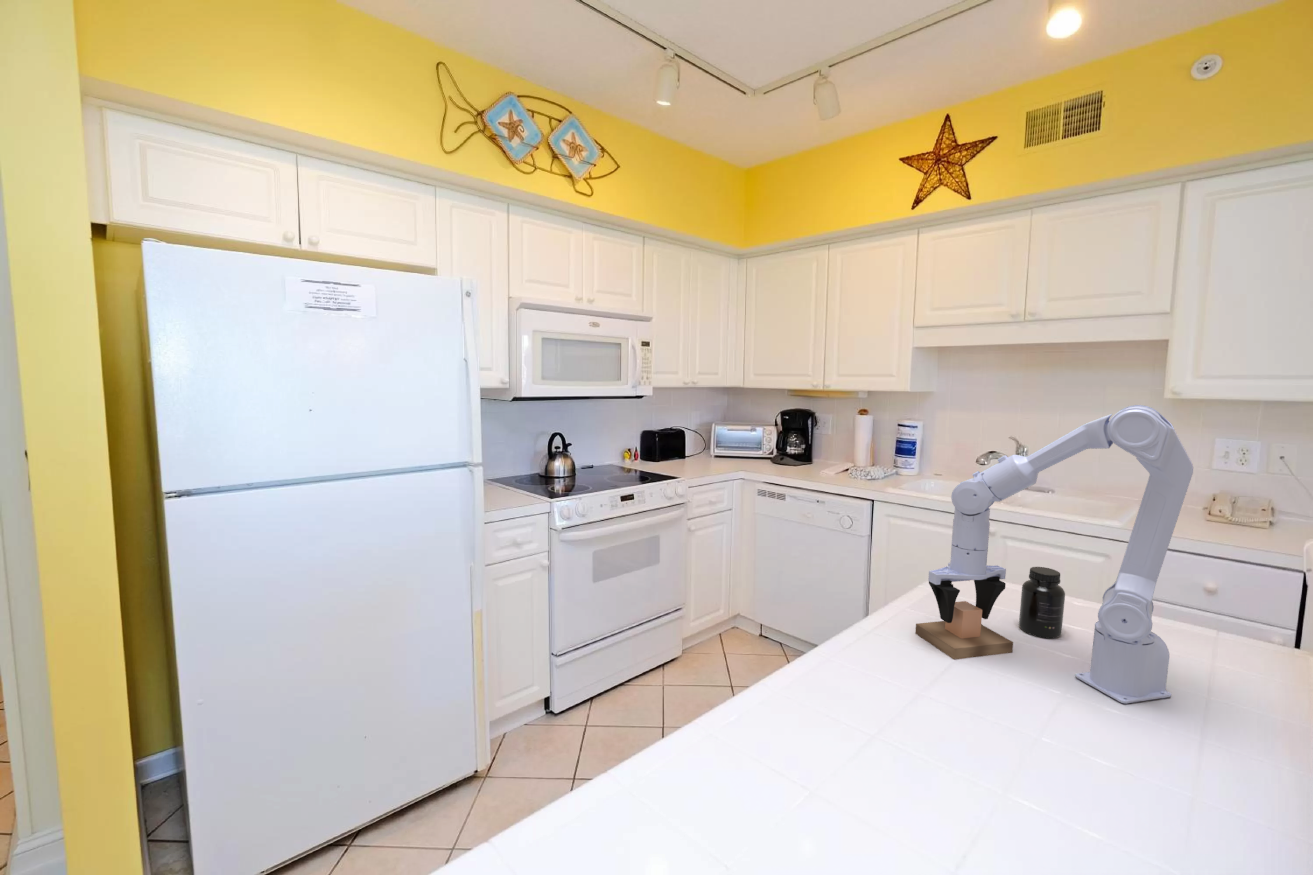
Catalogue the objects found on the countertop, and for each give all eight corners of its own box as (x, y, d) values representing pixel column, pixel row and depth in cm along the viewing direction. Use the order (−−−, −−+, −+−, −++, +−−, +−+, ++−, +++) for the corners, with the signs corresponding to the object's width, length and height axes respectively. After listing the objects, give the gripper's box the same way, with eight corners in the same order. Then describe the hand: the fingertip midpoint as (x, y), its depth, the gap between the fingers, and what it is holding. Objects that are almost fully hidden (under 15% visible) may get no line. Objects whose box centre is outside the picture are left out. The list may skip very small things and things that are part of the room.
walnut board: (969, 630, 111) (970, 618, 111) (1012, 655, 101) (1013, 641, 101) (915, 636, 108) (916, 623, 108) (953, 662, 99) (954, 648, 98)
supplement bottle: (1011, 622, 113) (1016, 563, 112) (1049, 624, 113) (1054, 565, 111) (1029, 638, 107) (1034, 575, 105) (1069, 640, 106) (1075, 577, 104)
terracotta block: (963, 626, 107) (965, 601, 106) (980, 636, 103) (982, 609, 102) (945, 628, 106) (947, 602, 105) (961, 638, 102) (963, 611, 102)
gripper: (986, 537, 108) (981, 606, 110) (919, 541, 105) (914, 612, 106) (1017, 548, 101) (1011, 622, 103) (946, 553, 98) (941, 629, 100)
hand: (964, 618), depth 104 cm, fingers open, 7 cm apart
